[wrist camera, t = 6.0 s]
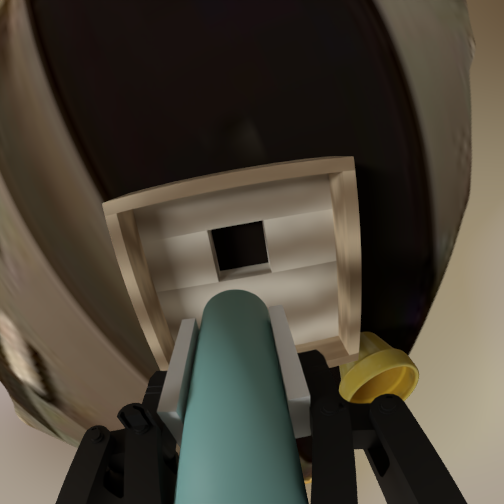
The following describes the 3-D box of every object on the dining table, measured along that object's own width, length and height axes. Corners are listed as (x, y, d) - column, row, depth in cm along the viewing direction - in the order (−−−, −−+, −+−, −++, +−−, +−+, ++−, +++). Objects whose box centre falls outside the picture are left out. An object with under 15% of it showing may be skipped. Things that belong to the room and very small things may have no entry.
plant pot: (359, 381, 39) (380, 424, 30) (311, 364, 37) (328, 415, 28) (400, 333, 37) (432, 372, 27) (355, 309, 34) (387, 354, 25)
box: (129, 193, 28) (102, 203, 21) (327, 156, 28) (353, 156, 21) (179, 355, 35) (171, 391, 29) (339, 327, 35) (358, 360, 29)
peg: (210, 349, 17) (197, 532, 6) (195, 294, 16) (149, 500, 4) (272, 339, 17) (309, 524, 6) (264, 284, 16) (311, 494, 4)
